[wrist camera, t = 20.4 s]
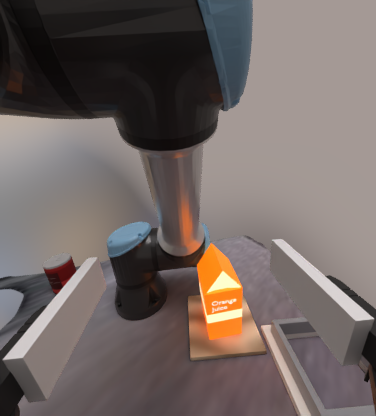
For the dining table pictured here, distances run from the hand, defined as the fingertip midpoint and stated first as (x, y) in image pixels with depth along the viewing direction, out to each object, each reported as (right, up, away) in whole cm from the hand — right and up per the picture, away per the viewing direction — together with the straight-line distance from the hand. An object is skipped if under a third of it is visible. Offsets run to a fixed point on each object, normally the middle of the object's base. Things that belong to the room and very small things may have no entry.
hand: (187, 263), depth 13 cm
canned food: (-42, -23, +48) cm, 68 cm away
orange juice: (+8, -23, +30) cm, 39 cm away
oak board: (+8, -25, +31) cm, 41 cm away
